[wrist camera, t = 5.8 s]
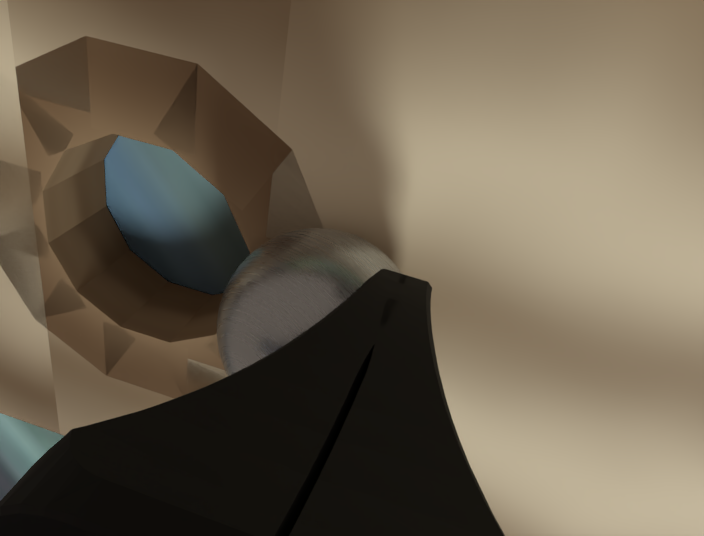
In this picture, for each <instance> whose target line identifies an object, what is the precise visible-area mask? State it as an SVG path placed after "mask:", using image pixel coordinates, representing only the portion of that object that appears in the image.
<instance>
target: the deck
mask: <svg viewBox="0 0 704 536" xmlns="http://www.w3.org/2000/svg"><path fill="white" fill-rule="evenodd" d="M118 135H119V136H123V137H127V138H131V139H134V140H138V141H142V142H145V143H149V144H153V145H156V146H160V147H164V148H167V149H171V150H173V151H174V152H175V153H177V154H178V155H179V156H180V157H181V158H182V159H183V160H185V161H186V162H187V163H188V164H189V165H190V166H191V167H193V168H194V169H195V170H196V171H197V172H198V173H199V174H201V175H202V176H203V177H204V178H205V179H206V180H207V181H209V182H210V183H211V184H212V185H213V186H214V187H215V188H217V189H218V190H219V191H220V192H221V193H222V194H223V195H224V196H225V199H226V201H227V203H228V205H229V207H230V210H231V212H232V214H233V216H234V218H235V221H236V223H237V225H238V227H239V229H240V232H241V234H242V236H243V238H244V240H245V243H246V245H247V247H248V249H249V252H250V254H251V253H252V252H253V251H255V250H256V249H257V248H258V247H260V246H261V245H262V244H264V243H266V242H268V241H269V240H271V239H273V238H275V237H277V236H280V235H283V234H285V233H288V232H292V231H296V230H301V229H307V228H328V229H335V230H341V231H344V232H347V233H350V234H354V235H356V236H358V237H361V238H363V239H364V240H366V241H368V242H370V243H371V244H373V245H375V246H376V247H377V248H379V249H380V250H381V251H382V252H384V253H385V254H386V255H387V256H388V257H389V258H390V259H391V260H392V261H393V262H394V264H395V265H396V266H397V267H398V269H399V270H400V271H401V273H402V274H404V275H408V276H411V277H414V278H417V279H421V280H424V281H427V282H429V284H430V285H431V287H432V292H431V324H432V334H433V341H434V347H435V353H436V358H437V364H438V368H439V373H440V377H441V381H442V385H443V389H444V393H445V397H446V400H447V404H448V407H449V410H450V414H451V417H452V420H453V423H454V425H455V428H456V431H457V434H458V437H459V440H460V442H461V445H462V447H463V450H464V452H465V455H466V457H467V460H468V462H469V464H470V467H471V469H472V471H473V473H474V475H475V477H476V479H477V481H478V484H479V486H480V488H481V490H482V492H483V494H484V496H485V498H486V500H487V502H488V504H489V507H490V509H491V511H492V513H493V515H494V517H495V518H496V520H497V522H498V524H499V526H500V527H501V529H502V531H503V533H504V535H505V536H704V0H0V413H2V414H5V415H8V416H11V417H13V418H16V419H19V420H22V421H25V422H28V423H30V424H33V425H36V426H39V427H42V428H45V429H47V430H50V431H53V432H56V433H59V434H62V435H64V436H65V435H66V434H67V433H68V432H69V431H70V430H71V429H74V428H78V427H83V426H87V425H91V424H94V423H98V422H101V421H105V420H109V419H112V418H116V417H120V416H123V415H127V414H131V413H134V412H138V411H141V410H144V409H147V408H150V407H153V406H156V405H159V404H161V403H164V402H167V401H169V400H172V399H175V398H177V397H180V396H183V395H185V394H188V393H191V392H193V391H196V390H198V389H201V388H203V387H206V386H208V385H210V384H212V383H215V382H217V381H219V380H221V379H223V378H225V377H227V376H228V375H227V373H226V371H225V369H224V366H223V363H222V360H221V357H220V354H219V348H218V342H217V317H218V311H219V306H220V303H221V299H222V296H223V293H221V294H216V295H210V294H207V293H203V292H200V291H197V290H193V289H190V288H187V287H184V286H180V285H177V284H174V283H171V282H168V281H167V280H165V279H164V278H163V277H162V276H161V275H159V274H158V273H157V272H156V271H155V270H153V269H152V268H151V267H150V266H149V265H147V264H146V263H145V262H144V261H143V260H141V259H140V258H139V257H138V256H137V255H135V254H134V253H133V252H132V251H131V250H130V249H129V247H128V245H127V243H126V242H125V240H124V238H123V236H122V234H121V232H120V231H119V229H118V227H117V225H116V223H115V221H114V219H113V218H112V216H111V214H110V212H109V210H108V208H107V206H106V189H105V169H104V159H105V157H106V155H107V154H108V152H109V150H110V149H111V147H112V145H113V143H114V142H115V140H116V138H117V137H118Z"/></svg>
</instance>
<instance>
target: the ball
mask: <svg viewBox="0 0 704 536" xmlns="http://www.w3.org/2000/svg"><path fill="white" fill-rule="evenodd" d="M381 269H388V270H391V271H394V272H398V273H401V271H400V270H399V269H398V267H397V266H396V265H395V264H394V262H393V261H392V260H391V259H390V258H389V257H388V256H387V255H386V254H385V253H384V252H382V251H381V250H380V249H379V248H377V247H376V246H375V245H373V244H371V243H370V242H368V241H366V240H364V239H363V238H361V237H358V236H356V235H354V234H350V233H347V232H344V231H341V230H335V229H328V228H307V229H301V230H296V231H292V232H288V233H285V234H283V235H280V236H277V237H275V238H273V239H271V240H269V241H268V242H266V243H264V244H262V245H261V246H260V247H258V248H257V249H256V250H255V251H253V252H252V253H251V254H250V255H249V256H248V257H247V258H246V259H245V260H244V261H243V262H242V263H241V264H240V265H239V267H238V268H237V269H236V271H235V272H234V274H233V275H232V277H231V278H230V280H229V282H228V284H227V286H226V288H225V290H224V293H223V296H222V299H221V303H220V306H219V311H218V317H217V342H218V348H219V354H220V357H221V360H222V363H223V366H224V369H225V371H226V373H227V375H228V376H229V375H231V374H233V373H235V372H237V371H239V370H241V369H243V368H246V367H248V366H249V365H251V364H253V363H255V362H257V361H258V360H260V359H262V358H264V357H266V356H267V355H269V354H271V353H273V352H274V351H276V350H278V349H279V348H281V347H282V346H284V345H286V344H287V343H289V342H290V341H292V340H293V339H295V338H296V337H297V336H299V335H300V334H302V333H303V332H305V331H306V330H308V329H309V328H310V327H312V326H313V325H315V324H316V323H318V322H319V321H320V320H322V319H323V318H324V317H325V316H327V315H328V314H329V313H330V312H332V311H333V310H334V309H335V308H336V307H338V306H339V305H340V304H341V303H343V302H344V301H345V300H346V299H347V298H348V297H350V296H351V295H352V294H353V293H354V292H355V291H356V290H357V289H358V288H360V287H361V286H362V285H363V284H364V283H365V282H366V281H367V280H368V279H369V278H370V277H372V276H373V275H374V274H376V273H377V272H378V271H380V270H381ZM401 274H402V273H401Z"/></svg>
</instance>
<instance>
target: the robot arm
mask: <svg viewBox="0 0 704 536" xmlns="http://www.w3.org/2000/svg"><path fill="white" fill-rule="evenodd" d="M431 292H432V287H431V285H430V284H429V282H427V281H424V280H421V279H417V278H414V277H411V276H408V275H404V274H401V273H398V272H394V271H391V270H388V269H381V270H380V271H378V272H377V273H376V274H374V275H373V276H372V277H370V278H369V279H368V280H367V281H366V282H365V283H364V284H363V285H362V286H361V287H360V288H358V289H357V290H356V291H355V292H354V293H353V294H352V295H351V296H350V297H348V298H347V299H346V300H345V301H344V302H343V303H341V304H340V305H339V306H338V307H336V308H335V309H334V310H333V311H332V312H330V313H329V314H328V315H327V316H325V317H324V318H323V319H322V320H320V321H319V322H318V323H316V324H315V325H313V326H312V327H310V328H309V329H308V330H306V331H305V332H303V333H302V334H300V335H299V336H297V337H296V338H295V339H293V340H292V341H290V342H289V343H287V344H286V345H284V346H282V347H281V348H279V349H278V350H276V351H274V352H273V353H271V354H269V355H267V356H266V357H264V358H262V359H260V360H258V361H257V362H255V363H253V364H251V365H249V366H248V367H246V368H243V369H241V370H239V371H237V372H235V373H233V374H231V375H229V376H227V377H225V378H223V379H221V380H219V381H217V382H215V383H212V384H210V385H208V386H206V387H203V388H201V389H198V390H196V391H193V392H191V393H188V394H185V395H183V396H180V397H177V398H175V399H172V400H169V401H167V402H164V403H161V404H159V405H156V406H153V407H150V408H147V409H144V410H141V411H138V412H134V413H131V414H127V415H123V416H120V417H116V418H112V419H109V420H105V421H101V422H98V423H94V424H91V425H87V426H83V427H78V428H74V429H71V430H70V431H69V432H68V433H67V434H66V435H65V436H64V437H63V438H62V439H61V440H60V441H59V442H57V443H56V444H55V445H54V446H53V447H52V448H50V449H49V450H48V451H47V452H46V453H45V454H44V455H43V456H42V457H41V458H40V459H39V460H38V461H37V462H36V463H35V464H34V465H33V466H32V467H31V468H30V469H29V470H28V471H27V472H26V474H25V475H24V476H23V477H22V478H21V479H20V480H19V481H18V482H17V484H16V485H15V486H14V487H13V488H12V489H11V490H10V491H9V492H8V494H7V495H6V496H5V497H4V498H3V499H2V500H1V501H0V536H505V535H504V533H503V531H502V529H501V527H500V526H499V524H498V522H497V520H496V518H495V517H494V515H493V513H492V511H491V509H490V507H489V504H488V502H487V500H486V498H485V496H484V494H483V492H482V490H481V488H480V486H479V484H478V481H477V479H476V477H475V475H474V473H473V471H472V469H471V467H470V464H469V462H468V460H467V457H466V455H465V452H464V450H463V447H462V445H461V442H460V440H459V437H458V434H457V431H456V428H455V425H454V423H453V420H452V417H451V414H450V410H449V407H448V404H447V400H446V397H445V393H444V389H443V385H442V381H441V377H440V373H439V368H438V364H437V358H436V353H435V347H434V341H433V334H432V324H431Z"/></svg>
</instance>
